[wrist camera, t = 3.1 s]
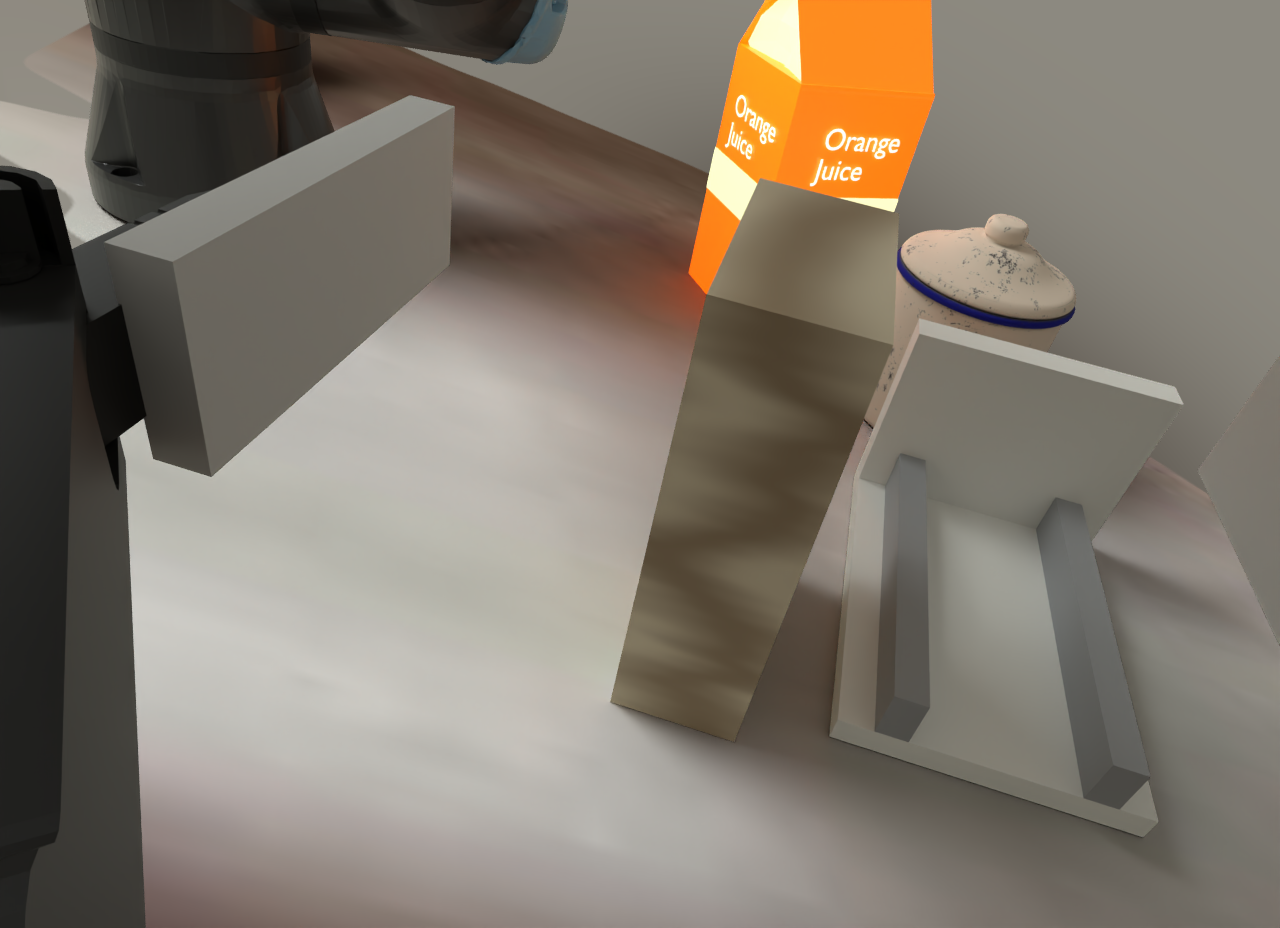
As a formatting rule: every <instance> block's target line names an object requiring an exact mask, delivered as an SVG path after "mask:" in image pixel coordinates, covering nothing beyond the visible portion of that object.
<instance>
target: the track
mask: <svg viewBox="0 0 1280 928" xmlns="http://www.w3.org/2000/svg"><path fill="white" fill-rule="evenodd" d="M1183 406H1184V404H1183V402H1182V400H1181V398H1180V396H1179V394H1178V392H1177V390H1176V388H1175V387H1173V386H1169V385H1166V384H1162V383H1158V382H1155V381H1151V380H1147V379H1144V378H1140V377H1136V376H1132V375H1129V374H1125V373H1121V372H1118V371H1114V370H1110V369H1106V368H1103V367H1099V366H1095V365H1091V364H1088V363H1084V362H1080V361H1076V360H1072V359H1069V358H1065V357H1062V356H1058V355H1054V354H1051V353H1047V352H1043V351H1039V350H1036V349H1032V348H1028V347H1024V346H1021V345H1017V344H1013V343H1010V342H1006V341H1002V340H998V339H995V338H991V337H987V336H983V335H980V334H976V333H972V332H969V331H965V330H961V329H957V328H954V327H950V326H946V325H942V324H939V323H935V322H931V321H928V320H924V319H920V318H919V320H918V322H917V325H916V327H915V330H914V332H913V335H912V337H911V339H910V342H909V344H908V347H907V349H906V351H905V354H904V356H903V359H902V361H901V364H900V366H899V368H898V371H897V373H896V376H895V378H894V380H893V383H892V385H891V388H890V390H889V393H888V395H887V397H886V400H885V402H884V405H883V407H882V409H881V412H880V414H879V417H878V419H877V422H876V424H875V426H874V429H873V431H872V434H871V436H870V438H869V441H868V443H867V446H866V448H865V451H864V453H863V455H862V458H861V460H860V463H859V465H858V467H857V470H856V472H855V475H854V482H853V492H852V503H851V513H850V524H849V534H848V545H847V555H846V566H845V576H844V587H843V597H842V608H841V618H840V629H839V639H838V650H837V660H836V671H835V681H834V692H833V702H832V713H831V723H830V734H829V737H832V738H836V739H839V740H842V741H845V742H848V743H851V744H854V745H857V746H860V747H864V748H867V749H870V750H873V751H876V752H879V753H882V754H885V755H888V756H892V757H895V758H898V759H901V760H904V761H907V762H910V763H913V764H916V765H920V766H923V767H926V768H929V769H932V770H935V771H938V772H941V773H944V774H948V775H951V776H954V777H957V778H960V779H963V780H966V781H969V782H972V783H976V784H979V785H982V786H985V787H988V788H991V789H994V790H997V791H1000V792H1004V793H1007V794H1010V795H1013V796H1016V797H1019V798H1022V799H1025V800H1028V801H1031V802H1035V803H1038V804H1041V805H1044V806H1047V807H1050V808H1053V809H1056V810H1059V811H1063V812H1066V813H1069V814H1072V815H1075V816H1078V817H1081V818H1084V819H1087V820H1091V821H1094V822H1097V823H1100V824H1103V825H1106V826H1109V827H1112V828H1115V829H1119V830H1122V831H1125V832H1128V833H1131V834H1134V835H1137V836H1140V837H1144V836H1145V835H1146V834H1147V833H1148V832H1149V831H1150V830H1151V829H1152V828H1153V827H1154V826H1155V825H1156V824H1157V823H1158V818H1157V813H1156V809H1155V805H1154V801H1153V797H1152V793H1151V789H1150V785H1149V781H1148V780H1149V778H1150V777H1151V776H1150V772H1149V768H1148V764H1147V760H1146V756H1145V752H1144V748H1143V744H1142V740H1141V736H1140V732H1139V728H1138V724H1137V720H1136V716H1135V712H1134V708H1133V704H1132V700H1131V697H1130V693H1129V689H1128V685H1127V681H1126V677H1125V673H1124V669H1123V665H1122V661H1121V657H1120V653H1119V649H1118V645H1117V641H1116V637H1115V633H1114V629H1113V625H1112V621H1111V618H1110V614H1109V610H1108V606H1107V602H1106V598H1105V594H1104V590H1103V586H1102V582H1101V578H1100V574H1099V570H1098V566H1097V562H1096V558H1095V554H1094V550H1093V546H1092V540H1093V539H1094V537H1095V536H1096V534H1097V533H1098V531H1099V530H1100V528H1101V527H1102V525H1103V524H1104V522H1105V521H1106V520H1107V518H1108V517H1109V515H1110V514H1111V512H1112V511H1113V509H1114V508H1115V506H1116V505H1117V503H1118V502H1119V500H1120V499H1121V497H1122V496H1123V494H1124V493H1125V491H1126V490H1127V488H1128V487H1129V486H1130V484H1131V483H1132V481H1133V480H1134V478H1135V477H1136V475H1137V474H1138V472H1139V471H1140V469H1141V468H1142V466H1143V465H1144V463H1145V462H1146V460H1147V459H1148V457H1149V456H1150V455H1151V453H1152V452H1153V450H1154V448H1155V447H1156V445H1157V444H1158V443H1159V441H1160V440H1161V438H1162V437H1163V435H1164V434H1165V432H1166V431H1167V429H1168V428H1169V426H1170V425H1171V423H1172V422H1173V421H1174V419H1175V417H1176V416H1177V414H1178V413H1179V412H1180V410H1181V408H1182V407H1183Z"/></svg>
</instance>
